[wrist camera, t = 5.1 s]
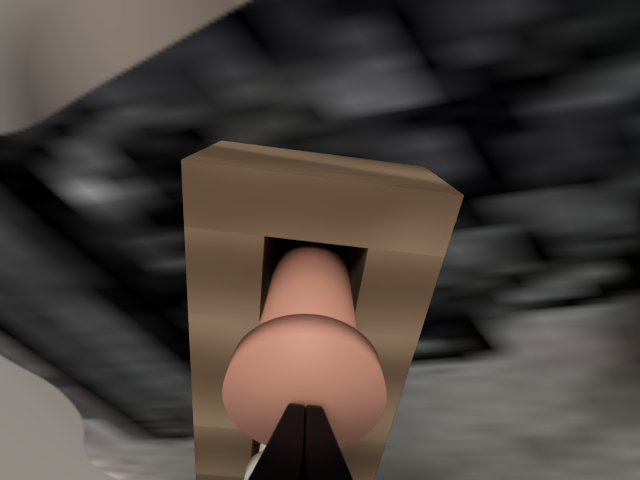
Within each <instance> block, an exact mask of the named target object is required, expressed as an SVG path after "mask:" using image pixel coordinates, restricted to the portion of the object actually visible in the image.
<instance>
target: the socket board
mask: <svg viewBox="0 0 640 480" xmlns="http://www.w3.org/2000/svg"><path fill="white" fill-rule="evenodd" d="M181 166H182V188H183V209H184V231H185V252H186V273H187V295H188V316H189V338H190V359H191V381H192V402H193V423H194V445H195V466H196V480H244V477H245V472H246V467H247V464H248V462H249V461H250V459H251V458H252V457H253V456H254V455H256V454H257V453H259V449H260V443H259V442H257V441H255V440H254V439H252V438H250V437H249V436H247V435H246V434H245V433H243V432H242V431H241V430H240V429H239V428H238V427H237V426H236V425H235V424H234V423H233V421H232V420H231V418H230V417H229V415H228V414H227V411H226V409H225V407H224V403H223V397H222V388H223V382H224V379H225V376H226V373H227V370H228V367H229V364H230V361H231V358H232V355H233V353H234V350H235V348H236V346H237V345H238V344H239V342H240V341H241V339H242V338H243V337H244V336H245V335H246V334H247V333H248V332H250V331H251V330H252V329H254V328H255V327H257V326H258V325H260V322H261V318H262V314H263V310H264V307H265V303H266V299H267V295H268V292H269V288H270V284H271V281H272V277H273V273H274V269H275V266H276V265H275V252H276V239H277V238H284V239H293V240H302V241H310V242H319V243H327V244H336V245H345V246H349V249H348V254H347V260H346V266H347V269H348V273H349V279H350V285H351V292H352V299H353V305H354V312H355V319H356V325H357V330H358V331H360V332H361V333H362V334H363V335H364V336H365V337H366V338H367V339H368V340H369V341H370V342H371V343H372V345H373V346H374V348H375V350H376V351H377V353H378V356H379V359H380V362H381V367H382V371H383V376H384V381H385V385H386V391H387V400H386V405H385V409H384V412H383V414H382V416H381V418H380V419H379V421H378V422H377V424H376V425H375V426H374V427H373V428H372V429H371V430H370V431H369V432H368V433H367V434H366V435H364V436H363V437H361V438H360V439H358V440H357V441H355V442H353V443H351V444H349V445H346V446H344V447H341V448H340V449H341V452H342V454H343V456H344V459H345V461H346V464H347V466H348V468H349V471H350V473H351V476H352V478H353V480H374V479H375V475H376V472H377V469H378V466H379V463H380V460H381V456H382V453H383V450H384V447H385V444H386V441H387V437H388V434H389V431H390V428H391V425H392V421H393V418H394V415H395V412H396V409H397V406H398V402H399V399H400V396H401V393H402V390H403V387H404V383H405V380H406V377H407V374H408V371H409V368H410V364H411V361H412V358H413V355H414V352H415V349H416V345H417V342H418V339H419V336H420V333H421V330H422V326H423V323H424V320H425V317H426V314H427V310H428V307H429V304H430V301H431V298H432V295H433V291H434V288H435V285H436V282H437V279H438V276H439V272H440V269H441V266H442V263H443V260H444V257H445V253H446V250H447V247H448V244H449V241H450V238H451V234H452V231H453V228H454V225H455V222H456V219H457V215H458V212H459V209H460V206H461V203H462V199H463V196H464V195H463V194H461V193H460V192H458V191H457V190H456V189H454V188H453V187H451V186H450V185H449V184H447V183H446V182H444V181H443V180H442V179H440V178H439V177H438V176H436V175H435V174H433V173H432V172H431V171H429V170H428V169H426V168H425V167H422V166H414V165H406V164H399V163H391V162H383V161H375V160H368V159H360V158H352V157H344V156H337V155H329V154H321V153H313V152H306V151H298V150H290V149H283V148H275V147H267V146H259V145H252V144H244V143H236V142H228V141H220V142H218V143H216V144H214V145H211V146H209V147H207V148H205V149H203V150H201V151H199V152H197V153H195V154H192V155H190V156H188V157H186V158H184V159H182V160H181Z"/></svg>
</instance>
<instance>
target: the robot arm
mask: <svg viewBox="0 0 640 480" xmlns="http://www.w3.org/2000/svg"><path fill="white" fill-rule="evenodd" d="M248 480H353V478H352V476H351V473H350V471H349V468H348V466H347V464H346V461H345V459H344V456H343V454H342V452H341V449H340V447H339V444H338V442H337V440H336V437H335V435H334V432H333V430H332V428H331V425H330V423H329V420H328V418H327V416H326V413H325V411H324V409H323V407H322V406H320V405H310V404H308V405H306V407H305V405H304V404H299V403H289V404H288V405H287V407H286V409H285V411H284V412H283V414H282V416H281V418H280V420H279V422H278V424H277V426H276V428H275V430H274V431H273V433H272V435H271V437H270V439H269V441H268V443H267V445H266V447H265V448H264V450H263V452H262V454H261V456H260V458H259V460H258V462H257V464H256V466H255V467H254V469H253V471H252V473H251V475H250V477H249V479H248Z"/></svg>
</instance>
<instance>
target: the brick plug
mask: <svg viewBox="0 0 640 480" xmlns="http://www.w3.org/2000/svg"><path fill="white" fill-rule="evenodd" d="M222 397H223V403H224V407H225V409H226V411H227V414H228V415H229V417H230V418H231V420H232V421H233V423H234V424H235V425H236V426H237V427H238V428H239V429H240V430H241V431H242V432H243V433H245V434H246V435H247V436H249V437H250V438H252V439H254V440H255V441H257V442H259V443H261V444H264V445H267V443H268V441H269V439H270V437H271V435H272V433H273V431H274V430H275V428H276V426H277V424H278V422H279V420H280V418H281V416H282V414H283V412H284V411H285V409H286V407H287V405H288V404H289V403H299V404H304V405H305V407H306V405H308V404H310V405H320V406H322V407H323V409H324V411H325V413H326V416H327V418H328V420H329V423H330V425H331V428H332V430H333V432H334V435H335V437H336V440H337V442H338V444H339V447H340V448H341V447H344V446H346V445H349V444H351V443H353V442H355V441H357V440H358V439H360V438H361V437H363V436H364V435H366V434H367V433H368V432H369V431H370V430H371V429H372V428H373V427H374V426H375V425H376V424H377V422H378V421H379V419H380V418H381V416H382V414H383V412H384V409H385V405H386V400H387V391H386V385H385V381H384V376H383V371H382V367H381V362H380V359H379V356H378V353H377V351H376V350H375V348H374V346H373V345H372V343H371V342H370V341H369V340H368V339H367V338H366V337H365V336H364V335H363V334H362V333H361V332H360V331H358V330H357V325H356V319H355V312H354V305H353V299H352V292H351V285H350V279H349V273H348V269H347V266H346V264H345V262H344V261H343V260H342V258H341V257H340V256H339V255H338V254H336V253H335V252H334V251H332V250H330V249H328V248H326V247H323V246H318V245H303V246H299V247H296V248H293V249H291V250H290V251H288V252H286V253H285V254H284V255H283V256H282V257H281V258H280V259H279V261H278V262H277V264H276V266H275V269H274V273H273V277H272V281H271V284H270V288H269V292H268V295H267V299H266V303H265V307H264V310H263V314H262V318H261V322H260V325H258V326H257V327H255V328H254V329H252V330H251V331H250V332H248V333H247V334H246V335H245V336H244V337H243V338H242V339H241V341H240V342H239V344H238V345H237V346H236V348H235V350H234V353H233V355H232V358H231V361H230V364H229V367H228V370H227V373H226V376H225V379H224V382H223V388H222Z"/></svg>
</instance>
